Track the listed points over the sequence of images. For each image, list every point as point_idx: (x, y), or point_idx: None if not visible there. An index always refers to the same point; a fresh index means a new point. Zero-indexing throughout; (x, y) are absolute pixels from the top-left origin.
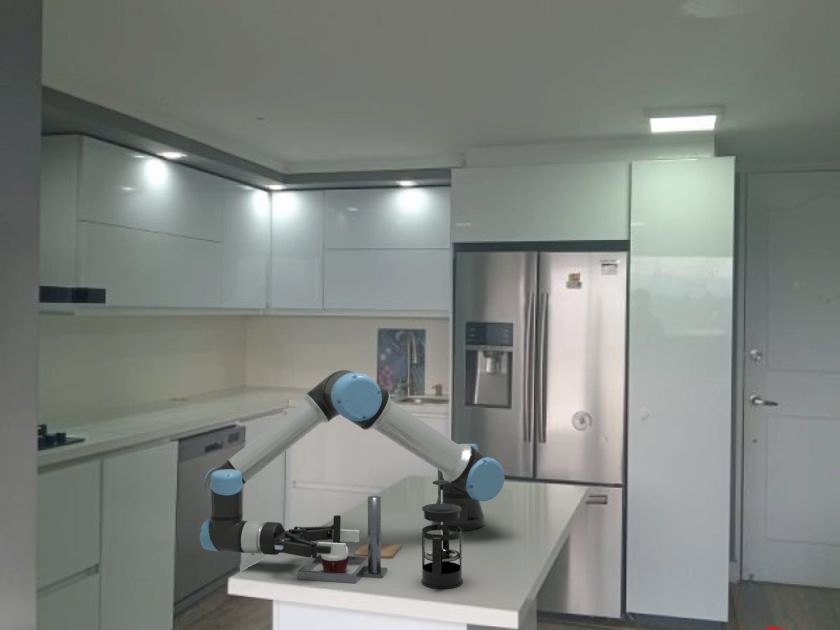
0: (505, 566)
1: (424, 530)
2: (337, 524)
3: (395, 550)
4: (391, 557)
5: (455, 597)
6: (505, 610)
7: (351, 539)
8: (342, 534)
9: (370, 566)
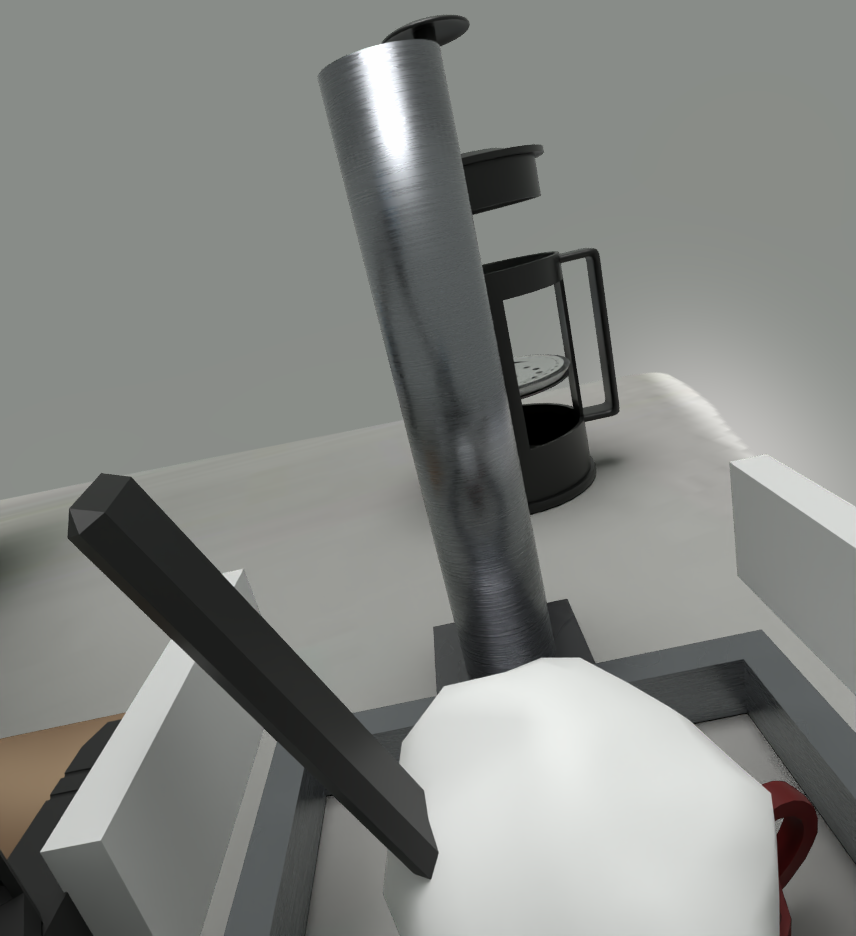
0: (315, 462)
1: None
2: (227, 597)
3: (51, 734)
4: None
5: (639, 427)
6: (658, 374)
7: None
8: (198, 747)
9: (548, 621)
